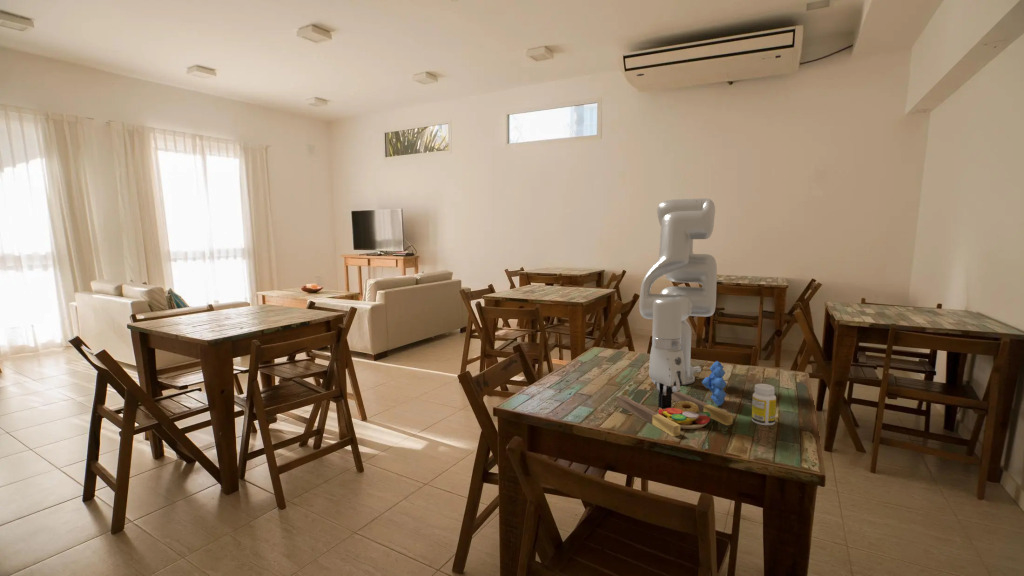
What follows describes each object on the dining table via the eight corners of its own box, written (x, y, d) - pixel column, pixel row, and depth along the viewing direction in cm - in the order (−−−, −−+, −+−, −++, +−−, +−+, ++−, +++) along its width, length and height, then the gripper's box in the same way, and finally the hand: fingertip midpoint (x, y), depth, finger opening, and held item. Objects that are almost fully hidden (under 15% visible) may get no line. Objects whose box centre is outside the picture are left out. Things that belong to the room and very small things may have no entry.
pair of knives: (669, 395, 144) (669, 387, 144) (732, 424, 122) (732, 414, 121) (616, 404, 137) (616, 396, 137) (673, 436, 115) (673, 426, 114)
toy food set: (688, 409, 133) (689, 398, 133) (722, 427, 120) (722, 415, 120) (647, 415, 129) (647, 403, 129) (677, 434, 117) (678, 421, 116)
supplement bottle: (771, 418, 125) (773, 383, 124) (778, 426, 120) (779, 390, 119) (749, 417, 126) (750, 382, 125) (754, 425, 121) (756, 388, 120)
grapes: (698, 395, 144) (699, 356, 142) (721, 396, 142) (723, 357, 141) (704, 408, 133) (705, 367, 131) (729, 410, 131) (731, 368, 130)
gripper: (697, 347, 124) (694, 414, 126) (659, 336, 138) (658, 397, 140) (674, 350, 121) (672, 419, 123) (638, 338, 135) (637, 400, 137)
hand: (664, 407), depth 132 cm, fingers closed
